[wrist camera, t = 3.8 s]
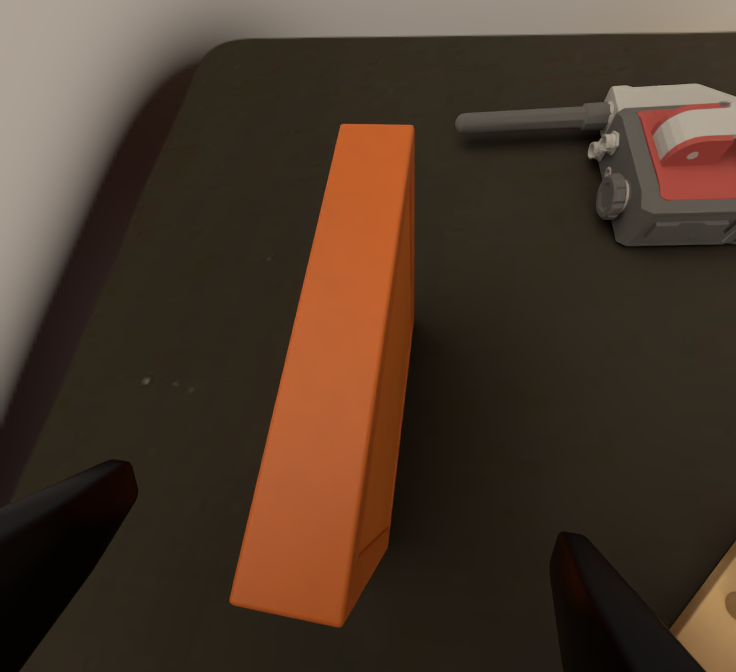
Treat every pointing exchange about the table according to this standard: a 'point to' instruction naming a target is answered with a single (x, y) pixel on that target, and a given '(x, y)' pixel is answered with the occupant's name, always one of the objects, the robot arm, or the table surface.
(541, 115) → the walkie-talkie
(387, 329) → the lid
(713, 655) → the rack
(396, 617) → the table surface
